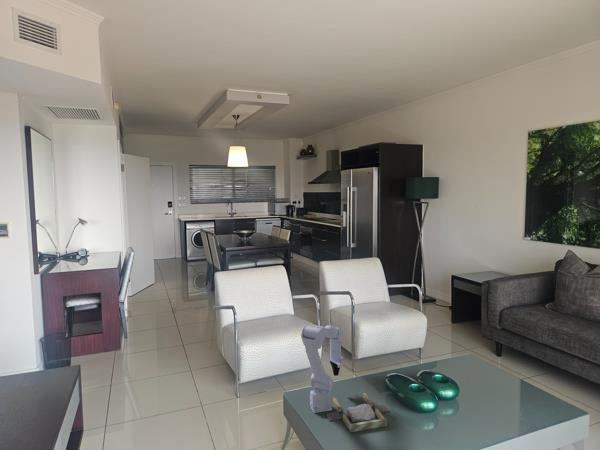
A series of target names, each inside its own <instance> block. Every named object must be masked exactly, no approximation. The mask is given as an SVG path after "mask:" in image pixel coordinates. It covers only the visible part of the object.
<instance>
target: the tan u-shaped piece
mask: <svg viewBox="0 0 600 450" xmlns="http://www.w3.org/2000/svg"><path fill="white" fill-rule="evenodd" d="M362 395H363V397H362V398H363V399H364V401H365V403H366V404H368V405H370V406H371V408H374V407H373V406H374V405H373V403H374V402H373V401H372V399H371V398H370V397H369V396H368V394H367V393H366V392H363V394H362ZM332 403H333V405H334V406H335V408H336V411H337V412H339V413H341V412H342V406H341V404H340V403H339V401H338V400H337V398H336V397H332ZM374 410H375V411H374V413H375V417H377V418H378V419H375V420H372V421H366V422H353V423H351V420H349V419H350V418H349V417H348V415H347V414H346V413H342V421H343V422H344V424H345V426H346V428H347V429H348V431H349V432H350V433H355V432H360V431H367V430H372V429H377V428H384V427H388V419H387V418H386V417H385V416H384V415H383V413H381V412H380V411H379V410H378V409H374Z"/></svg>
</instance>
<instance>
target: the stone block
mask: <svg viewBox="0 0 600 450" xmlns="http://www.w3.org/2000/svg"><path fill="white" fill-rule="evenodd" d="M346 416H347V418H348V419H350V422H352V423H360V422H366V421H372V420H376V414H375V411H374V410H373V407H371V406H370V405H368V404H367V403H362V404H358V405H357V406H348V407H347V409H346Z"/></svg>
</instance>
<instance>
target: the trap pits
mask: <svg viewBox="0 0 600 450" xmlns="http://www.w3.org/2000/svg"><path fill="white" fill-rule="evenodd" d="M372 408H373V409H374V410H375V409H378V410H379V411H380V412H381V414H383V413H384V414H385V413H390V412H391V410H390V409H389V408H388V407H387V405H386V404H378V405H377V404H376V405H373V407H372ZM325 415H326V417H327V419H328V421H329V422H334V421H335V422H336V421H339V420H340V421H341V420H343V417H342V416H341V415H340V412H338V411H333V412H327V413H325Z"/></svg>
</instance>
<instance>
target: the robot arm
mask: <svg viewBox="0 0 600 450" xmlns="http://www.w3.org/2000/svg"><path fill="white" fill-rule="evenodd" d="M300 338H301V341H302V343H303V346H304V349H305V353H306V356H307V359H308V362H309V365H310V367H311V371H312V373H311V375H310V385H311V388H312V390H310V391H309V406H310V408H311V410H312V412H313V413H314V414H316V413H323V412H329V411H333V408H332V406H331V404H330V403H331V401H330V397H331V396H330V392H331V391H332V390H333V388H334V380H333V378H332V377H331V375H329V373H327V372H326V371H325V369H324V366H323V362H322V359H321V356H320V353H319V349H321V348H322V346H323V343H324V340H325V338H328V339H329V364H330V366H331V369H332V373H333V375H334V377H336V376H339V373H340V370H341V368H343V362H342V360H344V356H342V342H343V329H342V328H340V327H336V326H335V325H332V324H328V325H325V326H321V325H316V324H309V325H307V324H306V325H303V327H302V328H301V335H300Z"/></svg>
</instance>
